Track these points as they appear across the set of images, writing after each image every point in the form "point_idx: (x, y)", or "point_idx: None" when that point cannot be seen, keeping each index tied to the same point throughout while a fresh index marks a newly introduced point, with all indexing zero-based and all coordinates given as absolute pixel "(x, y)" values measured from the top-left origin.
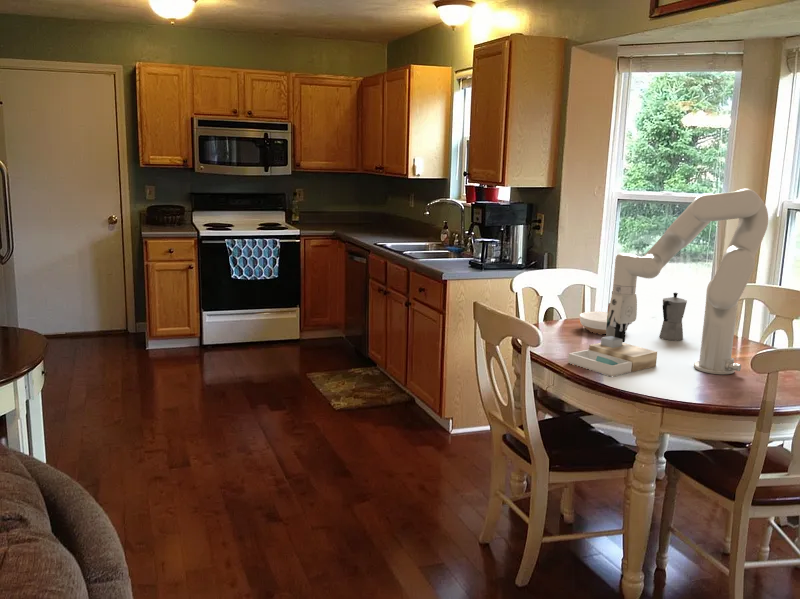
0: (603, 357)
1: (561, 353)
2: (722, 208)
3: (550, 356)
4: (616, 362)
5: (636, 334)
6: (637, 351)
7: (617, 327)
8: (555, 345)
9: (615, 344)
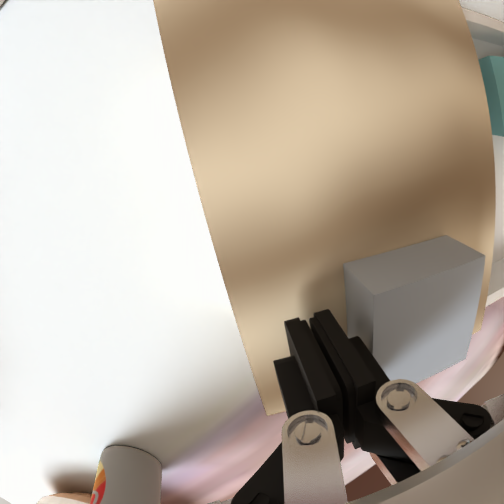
0: None
1: (441, 377)
2: None
3: (489, 344)
4: None
5: (21, 467)
6: (342, 54)
7: (463, 407)
8: None
9: (436, 250)
